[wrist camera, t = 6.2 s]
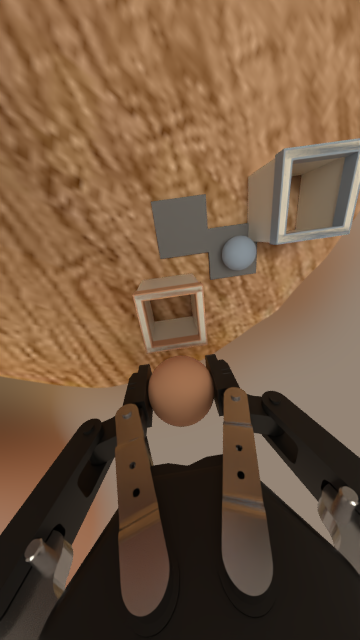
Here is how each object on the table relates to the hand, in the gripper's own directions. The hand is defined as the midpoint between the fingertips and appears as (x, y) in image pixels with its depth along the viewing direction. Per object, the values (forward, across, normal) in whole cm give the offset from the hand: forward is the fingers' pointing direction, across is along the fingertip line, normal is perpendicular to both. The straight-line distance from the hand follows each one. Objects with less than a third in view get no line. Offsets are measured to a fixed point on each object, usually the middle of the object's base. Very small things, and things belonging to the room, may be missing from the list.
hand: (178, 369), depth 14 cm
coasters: (+17, -6, -8) cm, 20 cm away
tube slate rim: (+17, -16, -11) cm, 26 cm away
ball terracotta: (0, 0, 0) cm, 0 cm away
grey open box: (+17, 0, 0) cm, 17 cm away
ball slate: (+16, -10, -6) cm, 20 cm away
